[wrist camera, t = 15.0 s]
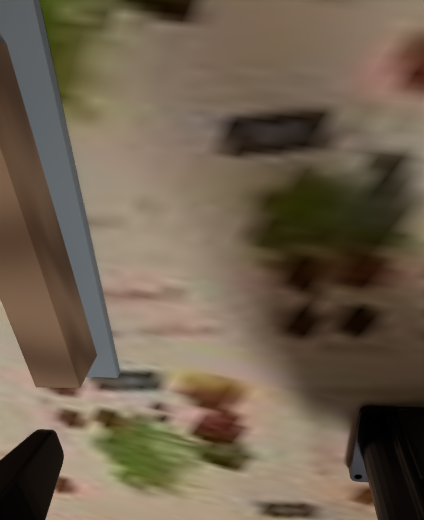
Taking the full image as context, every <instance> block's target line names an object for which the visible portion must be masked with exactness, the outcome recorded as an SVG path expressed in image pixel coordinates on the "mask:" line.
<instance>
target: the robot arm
mask: <svg viewBox="0 0 424 520" xmlns="http://www.w3.org/2000/svg"><path fill="white" fill-rule="evenodd" d="M367 414H368V415H367ZM63 459H64V454H63V450H62V447H61V444H60V442H59V439H58V436H57V434H56V432H55V431H54V430H46V429H40V430H37V431H35V432H33V433H32V434H31V435H30V436H29V437H27V438H26V439H25V440H24V441H23V442H21V443H20V444H19V445H18V446H17V447H15V448H14V449H13V450H12V451H11V452H10V453H8V454H7V455H6V456H5V457H4V458H2V459H1V460H0V520H45V519H46V516H47V513H48V509H49V506H50V503H51V500H52V496H53V493H54V490H55V487H56V483H57V480H58V477H59V474H60V470H61V467H62V464H63ZM349 473H350V478H351V479H352V480H353V481H357V482H369V486H370V490H371V494H372V498H373V502H374V506H375V510H376V514H377V518H378V520H424V408H415V407H392V406H364V407H362V408H360V410H359V414H358V420H357V426H356V432H355V438H354V444H353V450H352V456H351V462H350V468H349Z"/></svg>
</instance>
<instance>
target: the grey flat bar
mask: <svg viewBox="0 0 424 520" xmlns="http://www.w3.org/2000/svg"><path fill="white" fill-rule="evenodd" d="M0 43H7V47H8V50H9V54H10V57H11V61H12V64H13V68H14V71H15V74H16V78H17V81H18V85H19V88H20V92H21V95H22V98H23V102H24V105H25V109H26V112H27V116H28V119H29V123H30V126H31V129H32V133H33V136H34V140H35V143H36V147H37V150H38V154H39V157H40V160H41V164H42V167H43V171H44V174H45V178H46V181H47V184H48V188H49V191H50V195H51V198H52V202H53V205H54V209H55V212H56V215H57V219H58V222H59V226H60V229H61V233H62V236H63V240H64V243H65V246H66V250H67V253H68V257H69V260H70V264H71V267H72V271H73V274H74V277H75V281H76V284H77V288H78V291H79V295H80V298H81V301H82V305H83V308H84V312H85V315H86V319H87V322H88V326H89V329H90V332H91V336H92V339H93V343H94V346H95V350H96V353H97V357H96V359H95V361H94V362H93V364H92V366H91V368H90V370H89V372H88V374H87V376H86V377H111V378H118V375H119V373H120V369H119V365H118V360H117V355H116V351H115V346H114V342H113V337H112V332H111V328H110V323H109V319H108V314H107V309H106V305H105V300H104V296H103V291H102V286H101V282H100V277H99V273H98V268H97V263H96V259H95V254H94V250H93V245H92V240H91V236H90V231H89V227H88V222H87V217H86V213H85V208H84V204H83V199H82V194H81V190H80V185H79V181H78V176H77V171H76V167H75V162H74V158H73V153H72V148H71V144H70V139H69V135H68V130H67V125H66V121H65V116H64V112H63V107H62V102H61V98H60V93H59V89H58V84H57V79H56V75H55V70H54V66H53V61H52V56H51V52H50V47H49V43H48V38H47V33H46V29H45V24H44V20H43V15H42V10H41V6H40V1H39V0H0Z"/></svg>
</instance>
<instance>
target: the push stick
mask: <svg viewBox="0 0 424 520" xmlns="http://www.w3.org/2000/svg"><path fill="white" fill-rule="evenodd" d="M0 299H1V301H2V304H3V306H4V309H5V311H6V314H7V316H8V319H9V321H10V324H11V326H12V329H13V331H14V334H15V336H16V339H17V341H18V344H19V346H20V349H21V351H22V354H23V356H24V359H25V361H26V364H27V366H28V369H29V371H30V374H31V376H32V378H33V381H34V383H35V386H36V387H60V388H80V387H81V385H82V383H83V382H84V380H85V378H86V376H87V374H88V372H89V370H90V368H91V366H92V364H93V362H94V361H95V359H96V357H97V353H96V350H95V346H94V343H93V339H92V336H91V332H90V329H89V326H88V322H87V319H86V315H85V312H84V308H83V305H82V301H81V298H80V295H79V291H78V288H77V284H76V281H75V277H74V274H73V271H72V267H71V264H70V260H69V257H68V253H67V250H66V246H65V243H64V240H63V236H62V233H61V229H60V226H59V222H58V219H57V215H56V212H55V209H54V205H53V202H52V198H51V195H50V191H49V188H48V184H47V181H46V178H45V174H44V171H43V167H42V164H41V160H40V157H39V154H38V150H37V147H36V143H35V140H34V136H33V133H32V129H31V126H30V123H29V119H28V116H27V112H26V109H25V105H24V102H23V98H22V95H21V92H20V88H19V85H18V81H17V78H16V74H15V71H14V68H13V64H12V61H11V57H10V54H9V50H8V47H7V43H0Z"/></svg>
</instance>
